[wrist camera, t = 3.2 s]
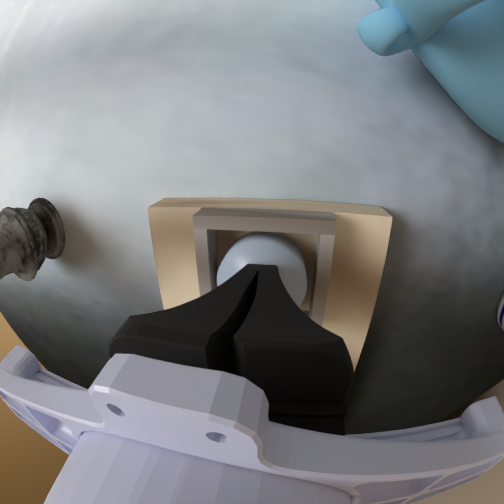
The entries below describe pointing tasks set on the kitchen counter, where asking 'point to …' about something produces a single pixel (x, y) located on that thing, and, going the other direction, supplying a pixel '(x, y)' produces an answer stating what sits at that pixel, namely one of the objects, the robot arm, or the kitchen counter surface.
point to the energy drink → (501, 313)
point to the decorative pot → (449, 49)
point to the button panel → (295, 228)
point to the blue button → (268, 260)
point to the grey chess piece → (29, 238)
